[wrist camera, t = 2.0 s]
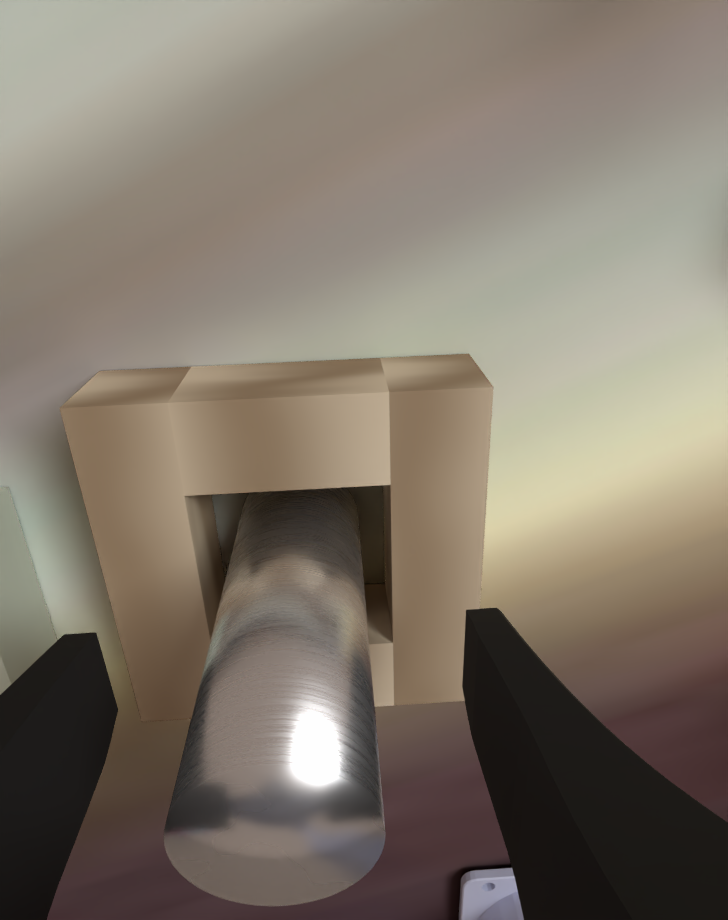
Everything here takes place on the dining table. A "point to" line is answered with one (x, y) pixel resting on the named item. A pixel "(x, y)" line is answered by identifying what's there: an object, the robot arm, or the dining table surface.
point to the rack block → (19, 600)
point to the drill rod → (284, 715)
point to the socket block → (279, 469)
